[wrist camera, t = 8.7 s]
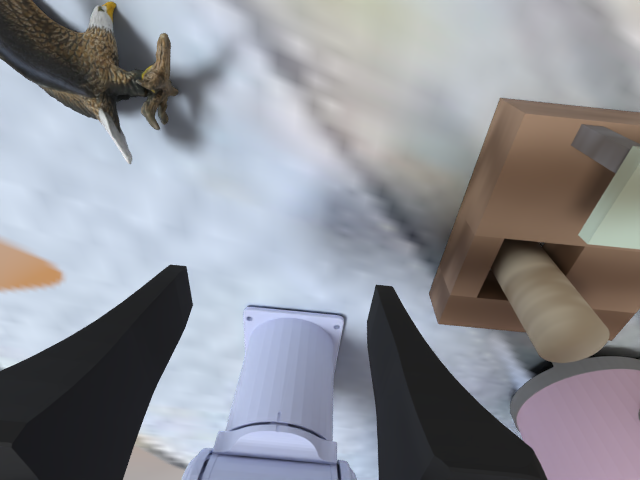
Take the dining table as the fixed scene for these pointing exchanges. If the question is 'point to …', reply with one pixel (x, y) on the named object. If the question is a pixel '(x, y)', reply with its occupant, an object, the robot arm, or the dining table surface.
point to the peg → (547, 303)
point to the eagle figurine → (83, 65)
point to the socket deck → (548, 212)
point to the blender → (583, 419)
